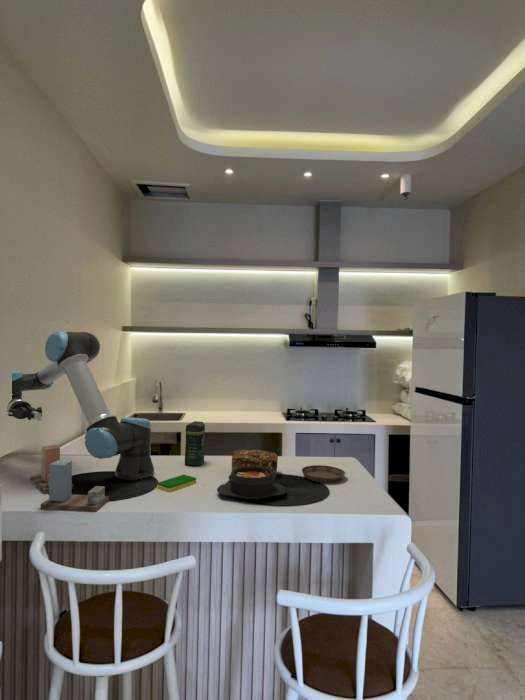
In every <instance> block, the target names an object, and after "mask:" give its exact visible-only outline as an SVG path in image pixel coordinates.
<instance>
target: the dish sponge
mask: <svg viewBox="0 0 525 700" xmlns="http://www.w3.org/2000/svg"><path fill="white" fill-rule="evenodd" d="M193 483H195V484H196V483H197V477H195V476H190V475H186V474H181V475H178V476H174V477H172V478H169V479H165V480H161V481H158V482H157V485H156V489H159V490H162V491H164V492H168V493H171V492H174V491H177V489H178V490H179V489H180V490H181V489H183V488H186V487H189V486H191V485H190V484H192V485H194V484H193ZM188 485H189V486H188ZM185 486H186V487H185ZM182 487H183V488H182Z"/></svg>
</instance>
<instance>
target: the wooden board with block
mask: <svg viewBox="0 0 525 700" xmlns="http://www.w3.org/2000/svg"><path fill="white" fill-rule="evenodd" d="M105 491H106V487H105V486H101V485H100V486H99V485H96V486H94V487H92V489H90V490H89V491H88V492H87V494H73V493H72V494H71V497H70V498H68V499H67V500H65V501H64V502H63V501H49V498H48V499H47V500H45V501H43V502H42V503H40V507H39V509H40V510H57V511H74V512H92V513H93V512H94V513H97V512H98V511H99V510H100V509H101V508H102V507H104V506H105V505H106V504H107V503H108V502H109V501H110V496H109V495H106V493H105Z"/></svg>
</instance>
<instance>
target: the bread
mask: <svg viewBox="0 0 525 700" xmlns="http://www.w3.org/2000/svg"><path fill="white" fill-rule="evenodd" d="M278 458H279V456H278V455H277V453H275V452H274V451H272V452H271V451H266V450H262V449H248V450H247V449H236V450H234V452H232V456H231V471H232V470H233V469H236V468H239V467H246V466H257V467H264V468H267V469H270V470H271V471H272V472H273V475H274V476H276V477H277V471H278V462H279V461H278V460H279V459H278Z"/></svg>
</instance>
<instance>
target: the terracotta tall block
mask: <svg viewBox="0 0 525 700" xmlns="http://www.w3.org/2000/svg"><path fill="white" fill-rule="evenodd" d="M57 460H61V448H60V446H58V445H57V444H52V445H46V446H45V445H44V446H41V475H42V477H41V478H42V479H43V480H44V481H45V482H47V475H49V468H50V464H51V463H53V462H55V461H57Z"/></svg>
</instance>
